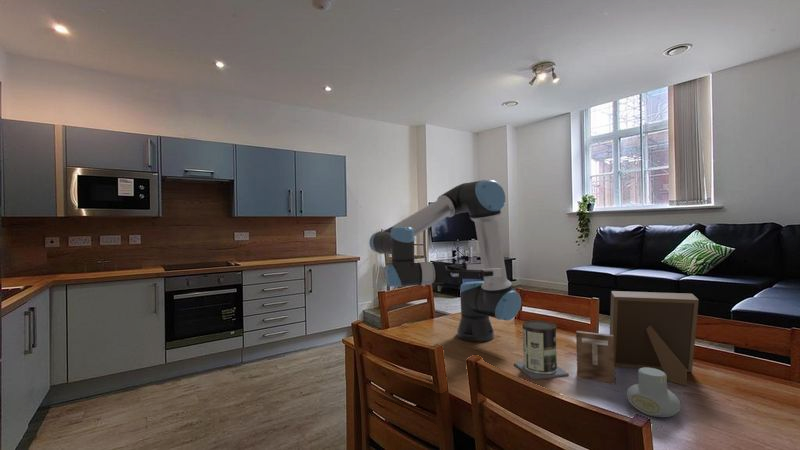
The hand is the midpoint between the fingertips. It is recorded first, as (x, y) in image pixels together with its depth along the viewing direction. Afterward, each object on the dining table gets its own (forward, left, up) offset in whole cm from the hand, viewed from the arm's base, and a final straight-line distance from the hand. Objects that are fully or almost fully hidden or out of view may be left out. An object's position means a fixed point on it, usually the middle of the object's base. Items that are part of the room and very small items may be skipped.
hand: (492, 269), depth 122 cm
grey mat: (+9, +12, -32) cm, 35 cm away
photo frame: (+20, +44, -32) cm, 58 cm away
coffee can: (+9, +12, -32) cm, 35 cm away
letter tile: (+18, +25, -32) cm, 44 cm away
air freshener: (+38, +25, -32) cm, 56 cm away
